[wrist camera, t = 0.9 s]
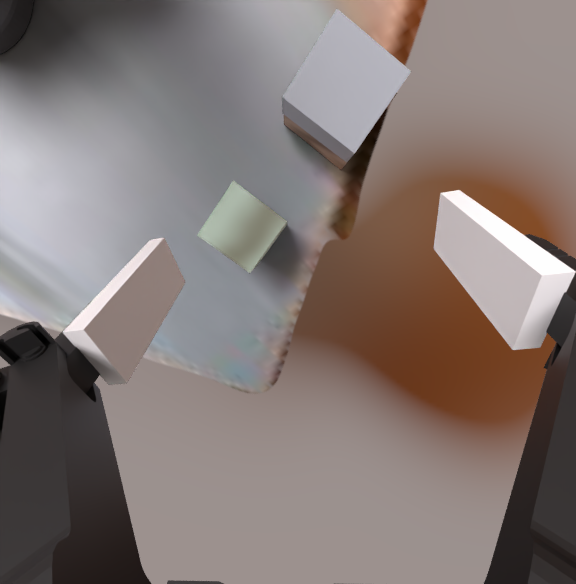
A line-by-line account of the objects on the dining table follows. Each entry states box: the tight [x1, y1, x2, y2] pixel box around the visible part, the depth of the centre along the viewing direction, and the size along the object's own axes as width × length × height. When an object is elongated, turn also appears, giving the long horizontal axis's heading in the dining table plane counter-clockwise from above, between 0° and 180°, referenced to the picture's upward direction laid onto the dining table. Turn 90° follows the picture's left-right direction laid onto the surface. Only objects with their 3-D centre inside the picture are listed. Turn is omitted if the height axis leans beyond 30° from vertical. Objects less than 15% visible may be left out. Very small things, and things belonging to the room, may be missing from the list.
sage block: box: [197, 181, 287, 273], centre depth 33 cm, size 6×6×12 cm
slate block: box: [282, 9, 411, 163], centre depth 30 cm, size 9×9×4 cm
